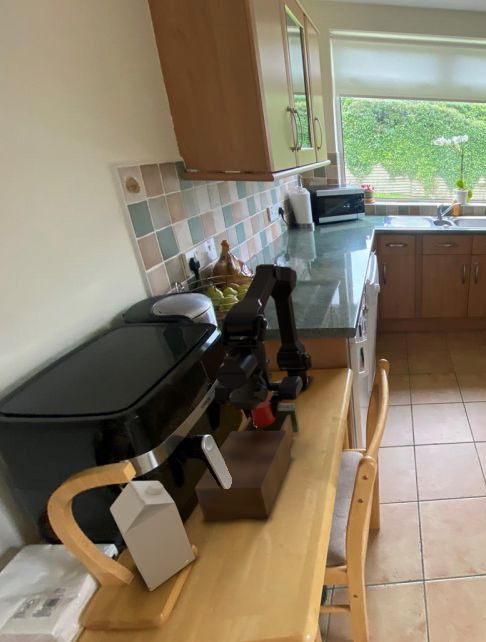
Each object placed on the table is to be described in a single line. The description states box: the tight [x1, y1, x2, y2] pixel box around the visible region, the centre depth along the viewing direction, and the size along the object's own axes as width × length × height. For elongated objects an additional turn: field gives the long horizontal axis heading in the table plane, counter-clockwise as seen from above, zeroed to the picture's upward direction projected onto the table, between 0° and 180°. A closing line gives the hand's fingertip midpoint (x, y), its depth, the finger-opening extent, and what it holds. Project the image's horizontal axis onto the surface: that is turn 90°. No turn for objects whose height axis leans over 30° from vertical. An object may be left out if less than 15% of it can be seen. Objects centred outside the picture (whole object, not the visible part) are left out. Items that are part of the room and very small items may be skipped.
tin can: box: [251, 395, 276, 427], centre depth 89 cm, size 5×5×6 cm
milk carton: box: [109, 480, 196, 592], centre depth 64 cm, size 7×7×19 cm
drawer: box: [240, 402, 301, 447], centre depth 92 cm, size 19×11×7 cm, turn 2°
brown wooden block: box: [194, 430, 292, 521], centre depth 81 cm, size 16×13×9 cm
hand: (264, 416), depth 90 cm, fingers closed on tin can, 5 cm apart
